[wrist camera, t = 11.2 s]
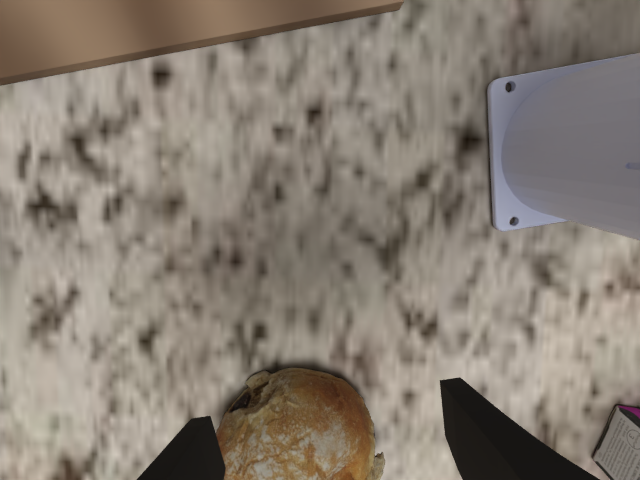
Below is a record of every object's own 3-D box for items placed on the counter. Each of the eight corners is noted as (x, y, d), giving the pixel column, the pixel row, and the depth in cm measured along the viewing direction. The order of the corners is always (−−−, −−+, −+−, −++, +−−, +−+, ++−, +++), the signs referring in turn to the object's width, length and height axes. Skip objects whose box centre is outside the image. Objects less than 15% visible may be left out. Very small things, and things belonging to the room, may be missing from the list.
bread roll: (312, 321, 25) (259, 351, 18) (420, 435, 23) (412, 527, 15) (232, 409, 27) (154, 469, 20) (324, 524, 24) (273, 645, 17)
